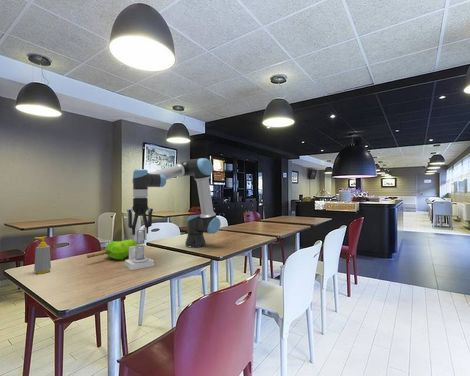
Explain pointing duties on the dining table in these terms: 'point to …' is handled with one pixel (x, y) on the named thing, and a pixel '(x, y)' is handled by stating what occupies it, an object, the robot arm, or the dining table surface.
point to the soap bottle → (42, 257)
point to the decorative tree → (116, 249)
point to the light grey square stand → (137, 261)
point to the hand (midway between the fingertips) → (140, 240)
